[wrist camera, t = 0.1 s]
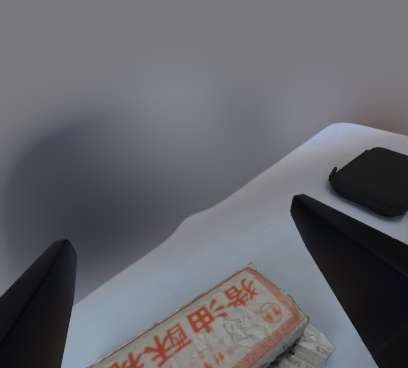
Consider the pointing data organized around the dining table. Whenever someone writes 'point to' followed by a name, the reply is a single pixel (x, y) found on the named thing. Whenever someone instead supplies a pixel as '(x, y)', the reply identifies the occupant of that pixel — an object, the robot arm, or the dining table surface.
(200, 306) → the packaged product
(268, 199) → the dining table surface
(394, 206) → the carrying case
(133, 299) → the dining table surface
